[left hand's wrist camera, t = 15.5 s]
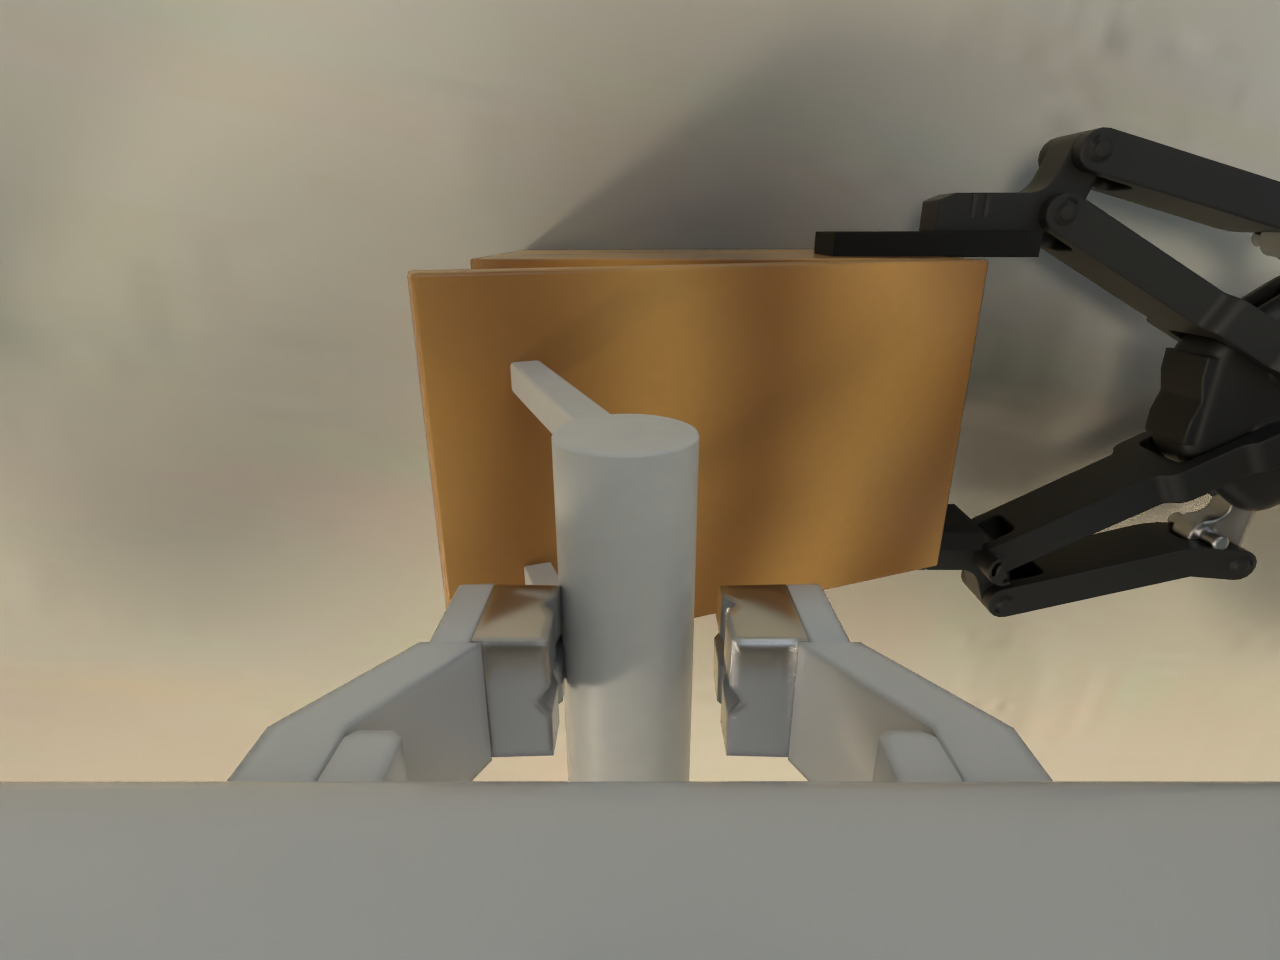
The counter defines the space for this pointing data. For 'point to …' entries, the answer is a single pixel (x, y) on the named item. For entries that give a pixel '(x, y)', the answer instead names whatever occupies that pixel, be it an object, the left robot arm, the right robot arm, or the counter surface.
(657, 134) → the counter surface
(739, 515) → the lid
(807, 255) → the chest
